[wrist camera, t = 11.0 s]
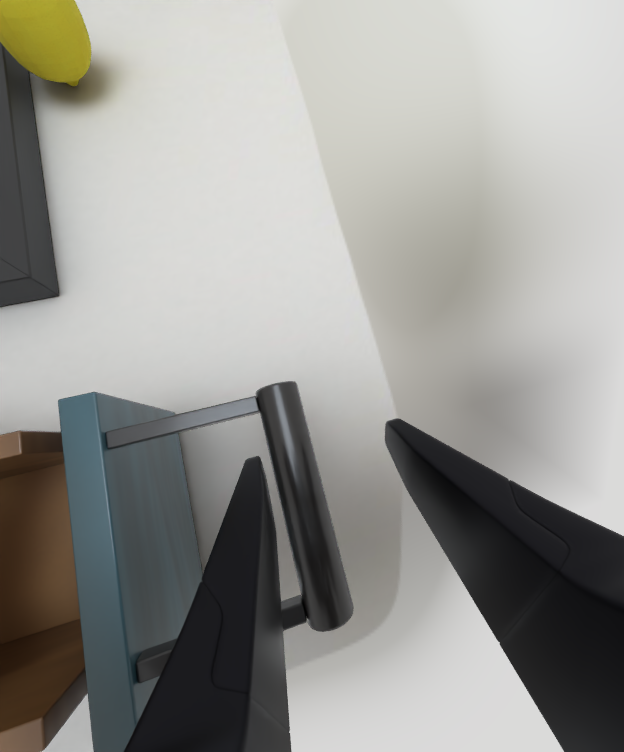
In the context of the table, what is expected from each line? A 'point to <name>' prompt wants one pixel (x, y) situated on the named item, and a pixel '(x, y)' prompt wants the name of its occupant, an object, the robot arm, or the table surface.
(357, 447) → the table surface
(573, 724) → the robot arm
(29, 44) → the lemon
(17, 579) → the drawer
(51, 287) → the picture frame
